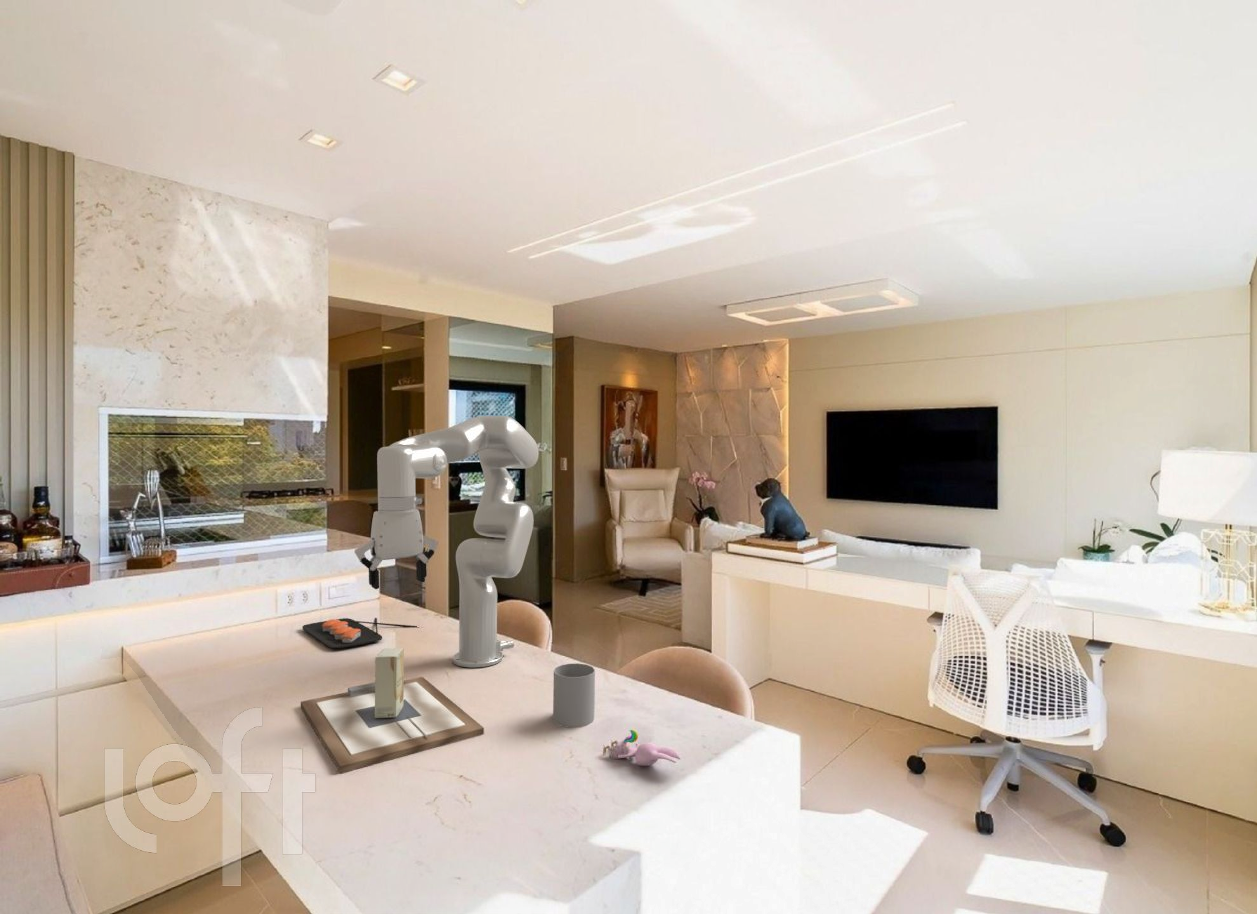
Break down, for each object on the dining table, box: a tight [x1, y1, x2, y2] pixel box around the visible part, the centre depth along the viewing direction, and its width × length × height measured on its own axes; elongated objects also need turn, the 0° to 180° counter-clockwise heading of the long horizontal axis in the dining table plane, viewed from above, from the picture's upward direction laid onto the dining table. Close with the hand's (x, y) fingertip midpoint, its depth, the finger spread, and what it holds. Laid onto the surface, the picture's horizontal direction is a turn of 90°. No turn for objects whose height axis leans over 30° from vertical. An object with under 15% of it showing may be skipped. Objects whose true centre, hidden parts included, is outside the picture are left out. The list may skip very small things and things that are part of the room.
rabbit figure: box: [602, 729, 681, 767], centre depth 114 cm, size 6×6×15 cm
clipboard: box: [300, 676, 485, 774], centre depth 131 cm, size 26×34×3 cm
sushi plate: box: [302, 617, 418, 649], centre depth 193 cm, size 29×30×4 cm
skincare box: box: [374, 647, 405, 718], centre depth 131 cm, size 6×4×12 cm
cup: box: [552, 663, 596, 728], centre depth 133 cm, size 8×8×10 cm
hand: (398, 584), depth 138 cm, fingers open, 9 cm apart
